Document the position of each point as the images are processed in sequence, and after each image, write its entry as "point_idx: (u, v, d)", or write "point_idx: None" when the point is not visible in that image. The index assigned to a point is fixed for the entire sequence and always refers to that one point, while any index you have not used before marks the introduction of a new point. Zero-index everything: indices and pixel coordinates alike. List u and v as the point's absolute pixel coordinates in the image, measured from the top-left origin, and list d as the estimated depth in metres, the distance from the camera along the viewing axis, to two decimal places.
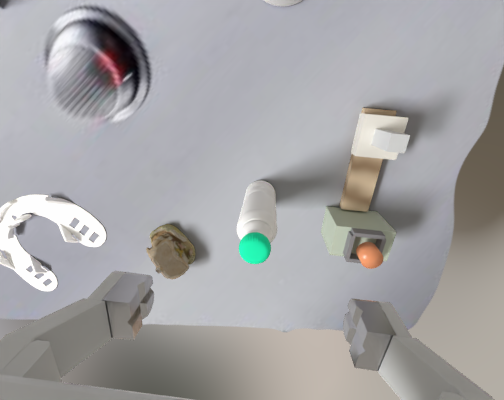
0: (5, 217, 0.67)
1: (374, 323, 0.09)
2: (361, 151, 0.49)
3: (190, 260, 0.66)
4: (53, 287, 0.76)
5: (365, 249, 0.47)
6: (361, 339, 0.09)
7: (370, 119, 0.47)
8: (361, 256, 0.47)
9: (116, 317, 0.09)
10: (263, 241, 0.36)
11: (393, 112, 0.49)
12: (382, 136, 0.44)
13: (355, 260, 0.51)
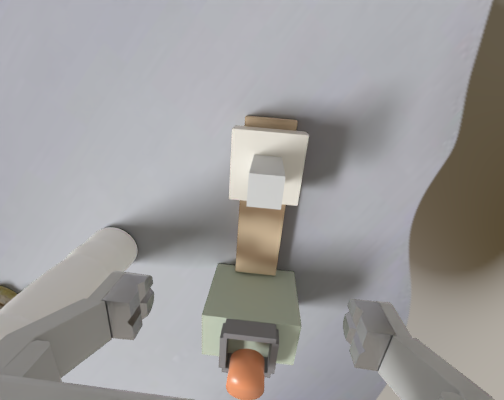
0: None
1: (374, 323, 0.09)
2: (237, 191, 0.29)
3: None
4: None
5: (234, 368, 0.27)
6: (361, 339, 0.09)
7: (242, 138, 0.26)
8: None
9: (116, 317, 0.09)
10: None
11: (292, 124, 0.28)
12: None
13: None
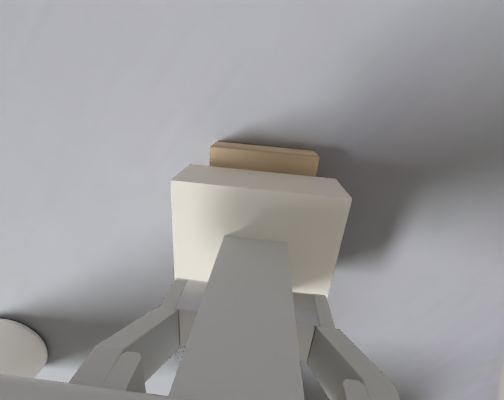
0: None
1: (301, 314, 0.09)
2: None
3: None
4: None
5: None
6: None
7: (196, 201, 0.11)
8: None
9: (187, 326, 0.09)
10: None
11: (308, 162, 0.14)
12: None
13: None
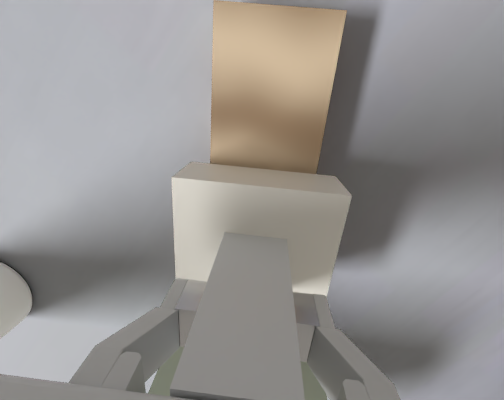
0: None
1: (301, 314, 0.09)
2: None
3: None
4: None
5: None
6: None
7: (197, 198, 0.11)
8: None
9: (187, 326, 0.09)
10: None
11: (333, 18, 0.11)
12: None
13: None
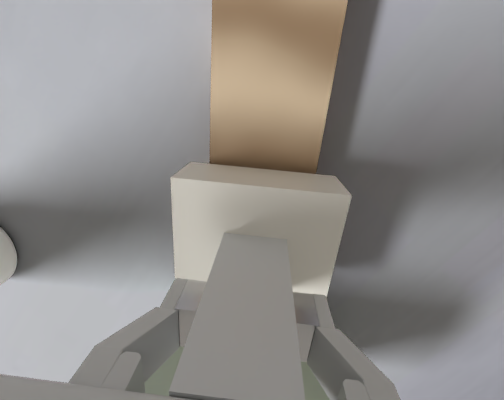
0: None
1: (301, 314, 0.09)
2: None
3: None
4: None
5: None
6: None
7: (196, 198, 0.11)
8: None
9: (187, 326, 0.09)
10: None
11: None
12: None
13: None
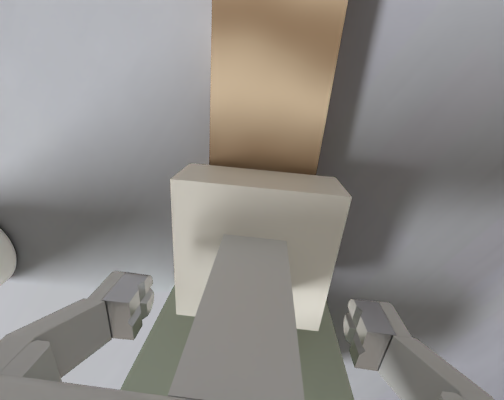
0: None
1: (374, 323, 0.09)
2: (193, 302, 0.14)
3: None
4: None
5: None
6: (361, 339, 0.09)
7: (195, 200, 0.11)
8: None
9: (116, 317, 0.09)
10: None
11: None
12: None
13: None
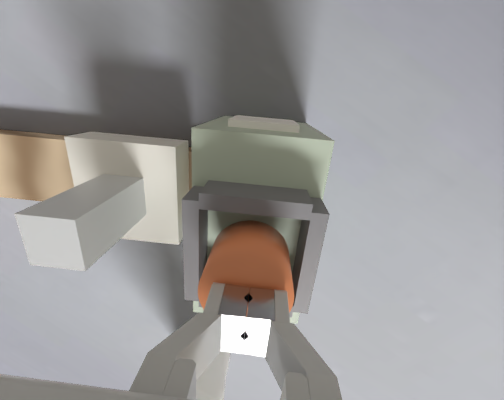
0: None
1: (258, 309, 0.09)
2: (165, 233, 0.20)
3: None
4: None
5: None
6: None
7: None
8: None
9: (229, 331, 0.09)
10: None
11: None
12: None
13: (300, 288, 0.13)
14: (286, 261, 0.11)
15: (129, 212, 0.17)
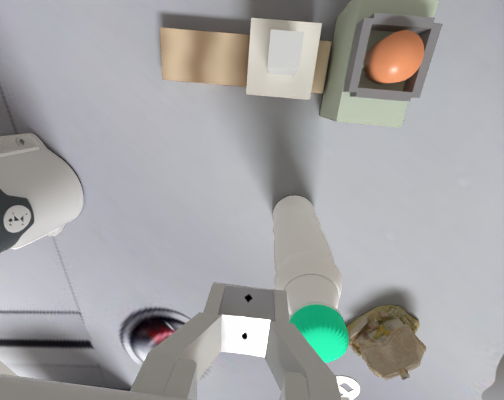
0: None
1: (257, 309, 0.09)
2: (302, 90, 0.31)
3: (397, 315, 0.47)
4: None
5: (374, 73, 0.23)
6: None
7: (253, 84, 0.31)
8: (389, 82, 0.23)
9: (229, 331, 0.09)
10: None
11: (162, 32, 0.32)
12: (276, 70, 0.27)
13: (418, 78, 0.23)
14: None
15: None
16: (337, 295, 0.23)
